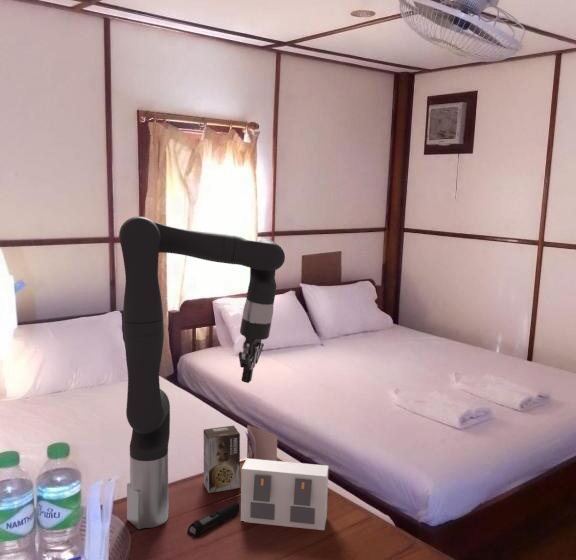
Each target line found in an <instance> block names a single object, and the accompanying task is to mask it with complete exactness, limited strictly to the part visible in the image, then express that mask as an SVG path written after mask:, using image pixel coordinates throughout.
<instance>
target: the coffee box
mask: <svg viewBox="0 0 576 560" xmlns="http://www.w3.org/2000/svg"><path fill="white" fill-rule="evenodd" d="M203 484H204V487H205V489H206V490H207V493H208V494H212V493H217V492H222V491H228V490H229V491H230V490H234V489H235V490H236V489H241V434H240V432H239V431H238V429H237V427H235V425H228V426H220V427H212V428H205V429H203Z"/></svg>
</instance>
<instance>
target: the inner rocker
mask: <svg viewBox="0 0 576 560" xmlns="http://www.w3.org/2000/svg"><path fill="white" fill-rule="evenodd" d="M270 489H271V476H265V475H255V478H254V494H253V500H254V501H264V502H270Z"/></svg>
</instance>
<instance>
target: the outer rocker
mask: <svg viewBox="0 0 576 560" xmlns="http://www.w3.org/2000/svg"><path fill="white" fill-rule="evenodd" d="M311 487H312V480H307V479H296V478H295V490H294V504H293V505H303V506H310V502H311Z"/></svg>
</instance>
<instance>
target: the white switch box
mask: <svg viewBox="0 0 576 560" xmlns="http://www.w3.org/2000/svg"><path fill="white" fill-rule="evenodd" d="M255 475H265V476H271V489H270V502H264V501H254V500H253V494H254V478H255ZM295 478H296V479H307V480H312V487H311V502H310V506H303V505H293V504H294V490H295ZM328 486H329V465H323V464H313V463H305V462H302V463H300V462H290V461H281V460H277V461H271V460H260V459H249V458H247V457H246V459H245V461H244V463H243V465H242V467H241V470H240V522H241V521H244V522H243V523H251V524H259V525H260V524H261V525H268V526H269V525H271V526H279V527H280V526H281V527H289V528H297V529H298V528H300V529H307V530H317V531H318V530H319V531H325V530H326V529H325V528H326V523H327V515H328V514H327V513H328V491H329V489H328V488H329V487H328Z"/></svg>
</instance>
